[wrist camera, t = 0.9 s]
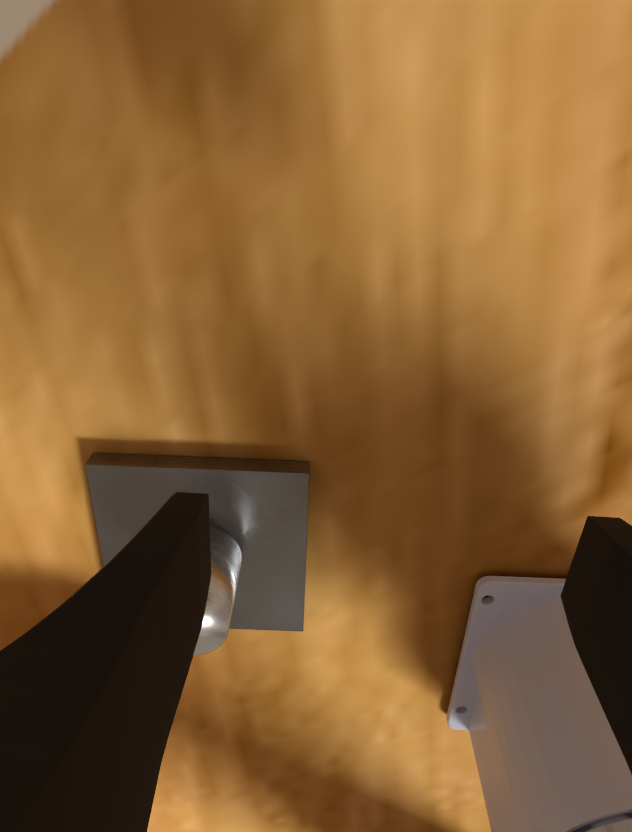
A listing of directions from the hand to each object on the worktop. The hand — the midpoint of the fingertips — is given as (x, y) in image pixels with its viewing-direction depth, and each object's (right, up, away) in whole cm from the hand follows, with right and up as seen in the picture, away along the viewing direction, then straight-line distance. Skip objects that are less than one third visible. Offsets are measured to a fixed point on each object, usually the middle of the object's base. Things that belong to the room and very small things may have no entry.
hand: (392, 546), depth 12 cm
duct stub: (-6, -3, +12) cm, 14 cm away
